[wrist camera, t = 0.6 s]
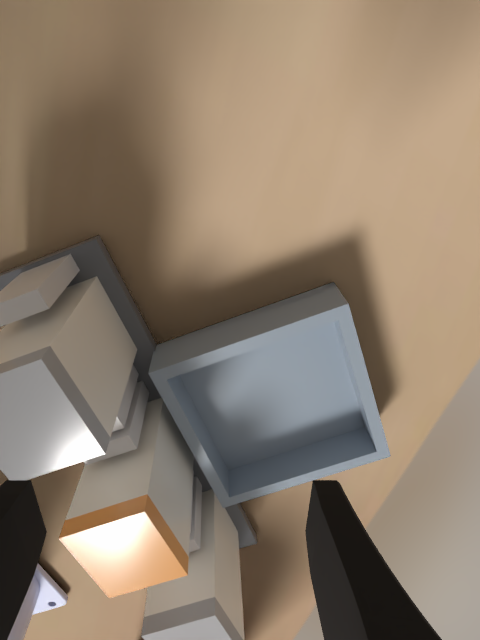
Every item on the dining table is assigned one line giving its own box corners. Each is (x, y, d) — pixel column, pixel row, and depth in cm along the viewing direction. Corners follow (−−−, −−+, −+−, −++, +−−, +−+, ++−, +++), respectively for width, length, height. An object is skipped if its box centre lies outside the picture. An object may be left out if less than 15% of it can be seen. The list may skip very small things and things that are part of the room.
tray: (222, 472, 26) (222, 508, 23) (154, 345, 22) (148, 373, 19) (374, 424, 25) (390, 456, 22) (333, 282, 21) (348, 303, 18)
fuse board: (184, 556, 29) (180, 632, 24) (-3, 274, 19) (-60, 320, 15) (256, 534, 28) (264, 608, 24) (99, 235, 19) (67, 270, 15)
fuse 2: (185, 547, 27) (177, 679, 21) (158, 506, 26) (141, 636, 19) (238, 531, 27) (246, 660, 21) (214, 488, 25) (215, 615, 19)
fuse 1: (71, 372, 21) (13, 484, 15) (26, 303, 20) (-62, 396, 13) (137, 349, 21) (105, 453, 15) (96, 276, 19) (41, 359, 13)
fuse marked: (135, 471, 24) (109, 598, 18) (101, 418, 23) (58, 538, 16) (194, 452, 24) (187, 575, 18) (163, 396, 22) (144, 511, 16)
